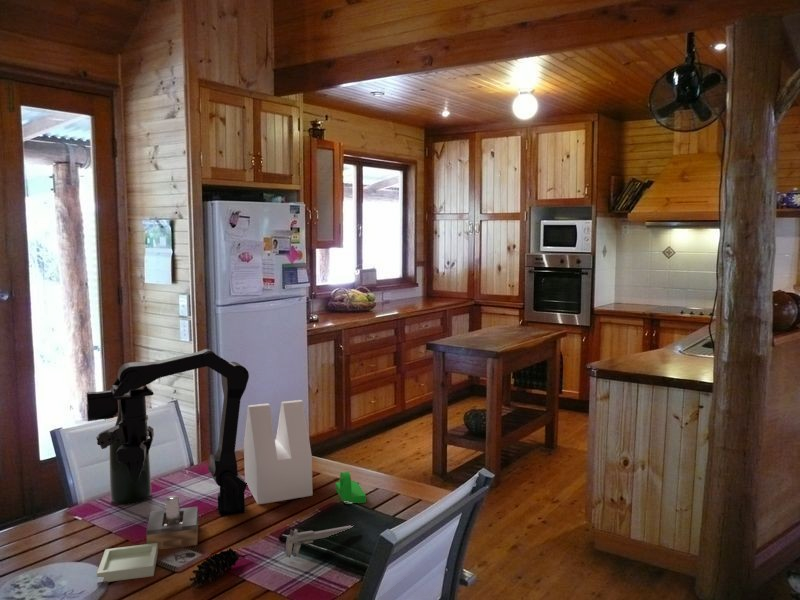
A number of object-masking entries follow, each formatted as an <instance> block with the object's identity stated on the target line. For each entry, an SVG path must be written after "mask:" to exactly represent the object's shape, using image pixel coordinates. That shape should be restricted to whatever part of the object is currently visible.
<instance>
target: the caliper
mask: <svg viewBox="0 0 800 600" xmlns="http://www.w3.org/2000/svg"><path fill="white" fill-rule="evenodd" d="M351 525H352V524H351ZM351 525H345V526H340V527H333V528H329V529H324V530H318V531H313V530H306V531H300V532H299V530H298V529H296V528H295V529H294V530H292V529H290V531H289V534H287V535H286V541H285V557H288V558H289V559H291V557H292V556H293V557H297V556H298V554H299V551H300V549H301V546H302V544H304V545H309V544H311V545H312V544H314V541H315V540H320V539H325V538H330V537H329V536H331V535H334V534H337V533H339V532H342V531H345V530H347V529H350V528H352V527H353V526H354V525H353V526H351ZM331 537H332V536H331Z"/></svg>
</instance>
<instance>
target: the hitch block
mask: <svg viewBox="0 0 800 600" xmlns="http://www.w3.org/2000/svg"><path fill="white" fill-rule="evenodd" d="M179 512H180V522H182V524H174V525H166V526H163V524H167V519H166V509H162V510H155V511H154V510H152V511H150V515H149V518H148V522H147V523H148V524H147V526H146V530H145V532H146V533H145V535H146V536H145V537H146V544H152V543H158V551H159V550H166V549H175V548H184V547H191V546H197V545H198V539H199V538H198V537H199V507H198V505H197V506H191V507H190V506H189V507H181V508H180V507H179Z"/></svg>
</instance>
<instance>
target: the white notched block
mask: <svg viewBox="0 0 800 600" xmlns="http://www.w3.org/2000/svg"><path fill="white" fill-rule="evenodd" d="M245 420H246V422H245V429H244V439H243V456H244V457H243V458H244V461H243V462H244V465H243V466H244V481H245V482H246V483H247V485H248V486H247V487H248V490H249V491H250V493H251V495H252V496H253V498H254V500H255V503H256V505H264V504H270V503H276V502H282V501H287V500H294V499H298V498H306V497H310V496H311V497H312V496H313V459H312V458H313V456H312V450H311V443H310V437H309V430H308V426H307V419H306V414H305V407H304V400H302V399H296V400H295V399H294V400H287V401H285V400H284V401H281V403H280V410H279V417H278V424H277V428H276V429H277V431H276V436H275V434H274V432H275V431H274V426H273V420H272V412H271V405H270V404H269V403H268V402H267V403H259V404H258V403H257V404H249V405H247V411H246V419H245Z"/></svg>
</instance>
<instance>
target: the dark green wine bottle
mask: <svg viewBox="0 0 800 600" xmlns="http://www.w3.org/2000/svg"><path fill="white" fill-rule="evenodd" d="M127 393H129V391H128V392H127ZM120 422H121V405H120V399H119V400H118V413H117V417H116V422H115V424H114V426H117V425H119V423H120ZM123 444H127V443H123ZM121 445H122V444H120V441H118V442H116V443H114V444H112V445H109V455H108V456H109V485H110V486H109V489H110V491H109V493H110V500H111V502H112V503H113V504H116V505H122V506H124V505H125V506H127V505H134V504H138V503H141V502H144V501H146V500H148V499H149V498H150V497H151V495H152V481H151V478H152V476H151V463H150V462H151V461H150V452H149V453H148V456H147V459H146V462H145V465H144V468H143V470H141V474H140V477H139V480H138V483H132V480H131V477H130V475H129V472H128V469H127V467H126V465H125V464H123V463H119V462H118V461H116V452H117V450H118V448H119V447H120V446H121Z"/></svg>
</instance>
